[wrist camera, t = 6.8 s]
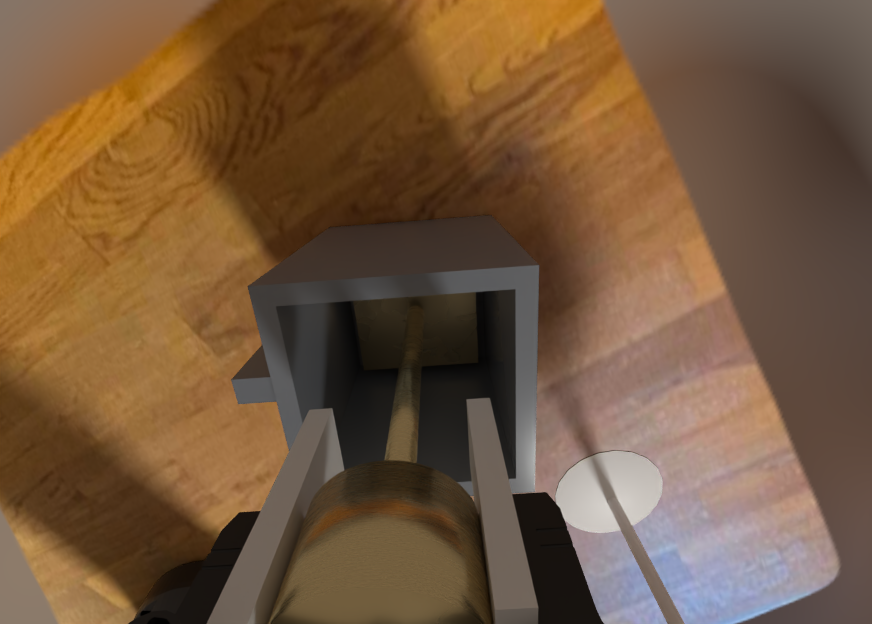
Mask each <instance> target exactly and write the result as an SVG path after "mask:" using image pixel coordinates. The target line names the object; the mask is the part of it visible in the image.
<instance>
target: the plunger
mask: <svg viewBox="0 0 872 624" xmlns="http://www.w3.org/2000/svg"><path fill="white" fill-rule="evenodd" d="M353 303H354V310H355V316H356V322H357V329H358V335H359V342H360V348H361V355H362V361H363V367H364V370H378V369H392V368H399V370H398V376H397V383H396V389H395V395H394V402H393V408H392V415H391V421H390V427H389V434H388V440H387V447H386V453H385V460H383V461H374V462H368V463H364V464H360V465H357V466H354V467H351V468H348V469H346V470H344V471H342V472H340V473H338V474H337V475H335V476H334V477H332V478H331V479H329V480H328V481H327V482H326V483H325V484H324V485H323V486H322V487H321V488H320V489H319V490H318V491H317V493H316V494H315V496H314V497H313V499H312V501H311V503H310V505H309V508H308V511H307V513H306V516H305V519H304V522H303V525H302V528H301V531H300V534H299V536H298V539H297V542H296V545H295V548H294V551H293V554H292V556H291V559H290V562H289V565H288V568H287V571H286V574H285V577H284V579H283V582H282V585H281V588H280V591H279V594H278V597H277V599H276V602H275V605H274V608H273V611H272V614H271V617H270V620H269V622H268V624H493V619H492V611H491V604H490V596H489V588H488V580H487V572H486V565H485V557H484V549H483V541H482V533H481V526H480V518H479V514H478V510H477V507H476V505H475V503H474V501H473V500H472V498H471V497H470V495H469V494H468V493H467V491H466V490H465V489H464V488H463V487H462V486H461V485H460V484H459V483H457V482H456V481H455V480H453V479H452V478H451V477H449V476H447V475H446V474H444V473H442V472H440V471H438V470H436V469H434V468H431V467H428V466H425V465H422V464H418V463H417V447H418V427H419V407H420V387H421V367H422V366H436V365H450V364H465V363H478V341H477V316H476V292H469V293H455V294H441V295H427V296H413V297H399V298H386V299H372V300H358V301H353Z"/></svg>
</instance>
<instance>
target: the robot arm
mask: <svg viewBox="0 0 872 624" xmlns="http://www.w3.org/2000/svg"><path fill="white" fill-rule="evenodd" d="M466 401H467V420H468V438H469V457H470V470H471V478H472V487H473V495H474V503H475V505H476V507H477V510H478V514H479V518H480V526H481V533H482V541H483V549H484V557H485V565H486V572H487V580H488V588H489V596H490V604H491V611H492V619H493V624H604V623H603V622H602V620H601V618H600V616H599V614H598V612H597V610H596V607H595V604H594V602H593V599H592V596H591V593H590V590H589V588H588V585H587V582H586V579H585V576H584V574H583V571H582V568H581V565H580V562H579V560H578V557H577V554H576V551H575V548H574V547H573V543H572V540H571V537H570V534H569V532H568V531H567V526H566V523H565V521H564V518H563V515H562V512H561V509H560V507H559V506H558V505H557V504H556V503H555V502H554V501H553V499H552V498H551V497H550V496H549V495H548V494H547V493H546V492H542V493H526V494H512V492H511V488H510V483H509V479H508V475H507V470H506V466H505V462H504V457H503V453H502V449H501V444H500V440H499V436H498V431H497V427H496V423H495V418H494V414H493V410H492V406H491V401H490V398H478V399H466ZM342 471H344V465H343V460H342V455H341V450H340V445H339V440H338V435H337V430H336V425H335V419H334V414H333V409H332V408H328V409H313V410H309V412H308V414H307V416H306V418H305V420H304V422H303V424H302V426H301V428H300V430H299V432H298V434H297V437H296V439H295V441H294V443H293V445H292V447H291V449H290V451H289V453H288V455H287V457H286V459H285V462H284V464H283V466H282V468H281V470H280V472H279V474H278V476H277V478H276V480H275V482H274V484H273V486H272V489H271V491H270V493H269V495H268V497H267V499H266V501H265V503H264V505H263V507H262V509H261V511H255V512H239V513H238V514H237V515H236V516H235V517H234V518H233V519H232V520H231V521H230V522H229V523H228V525H227V526H226V527H225V528H224V529H223V530H222V531H221V533H220V535H219V536H218V538H217V540H216V542H215V544H214V545H213V547H212V549H211V553H210V554H208V556H207V558H206V560H205V561H198V562H193V563H189V564H185V565H182V566H179V567H177V568H175V569H173V570H171V571H169V572H168V573H166V574H165V575H163V576H162V577H161V578H160V579H159V580H158V581H157V582H156V583H155V585H154V586H153V588H152V589H151V591H150V592H149V594H148V595H147V597H146V598H145V600H144V602H143V603H142V605H141V606H140V608H139V610H138V612H137V614H136V616H135V618H134V620H133V621H131V622H130V623H129V624H268V622H269V620H270V617H271V614H272V611H273V608H274V605H275V602H276V599H277V597H278V594H279V591H280V588H281V585H282V582H283V579H284V577H285V574H286V571H287V568H288V565H289V562H290V559H291V556H292V554H293V551H294V548H295V545H296V542H297V539H298V536H299V534H300V531H301V528H302V525H303V522H304V519H305V516H306V513H307V511H308V508H309V505H310V503H311V501H312V499H313V497H314V496H315V494H316V493H317V491H318V490H319V489H320V488H321V487H322V486H323V485H324V484H325V483H326V482H327V481H328V480H329V479H331V478H332V477H334V476H335V475H337V474H338V473H340V472H342Z"/></svg>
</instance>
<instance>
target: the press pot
mask: <svg viewBox="0 0 872 624" xmlns="http://www.w3.org/2000/svg"><path fill="white" fill-rule="evenodd" d="M248 290H249V294H250V298H251V302H252V306H253V310H254V314H255V318H256V322H257V325H258V329H259V333H260V337H261V341H262V346H261V347H260V348H259V349H258V350H257V351H256V352H255V354H254V355H253V356H252V357H251V358H250V359H249V360H248V361H247V363H246V364H245V365H244V366H243V367H242V368H241V369H240V370H239V372H238V373H237V374H236V375H235V376H234V377H233V378H232V379H231V381H232V384H233V387H234V391H235V394H236V398H237V401H238V404H247V403H262V402H277V405H278V409H279V413H280V417H281V421H282V425H283V429H284V433H285V437H286V441H287V444H288V448H289V451H290V449H291V447H292V445H293V443H294V441H295V439H296V437H297V434H298V432H299V430H300V428H301V426H302V424H303V422H304V420H305V418H306V416H307V414H308V412H309V410H313V409H328V408H332V409H333V414H334V419H335V425H336V430H337V435H338V440H339V445H340V450H341V455H342V460H343V465H344V470H346V469H348V468H351V467H354V466H357V465H360V464H364V463H368V462H374V461H383V460H385V453H386V447H387V440H388V434H389V427H390V421H391V415H392V408H393V402H394V395H395V389H396V383H397V376H398V370H399V368H392V369H378V370H364V367H363V361H362V355H361V348H360V342H359V335H358V329H357V322H356V316H355V310H354V303H353V301H358V300H372V299H386V298H399V297H413V296H427V295H441V294H455V293H469V292H476V316H477V341H478V363H465V364H450V365H436V366H422V367H421V387H420V407H419V427H418V447H417V463H418V464H422V465H425V466H428V467H431V468H434V469H436V470H438V471H440V472H442V473H444V474H446V475H447V476H449V477H451V478H452V479H453V480H455V481H456V482H457V483H459V484H460V485H461V486H462V487H463V488H464V489H465V490H466V491H467V493H468V494H469V495H470V496H474V495H473V487H472V478H471V470H470V457H469V438H468V420H467V401H466V399H478V398H490V401H491V406H492V410H493V414H494V418H495V423H496V427H497V431H498V436H499V440H500V444H501V449H502V453H503V457H504V462H505V466H506V470H507V475H508V479H509V483H510V488H511V492H512V493H526V492H535V455H536V402H537V349H538V297H539V264H538V263H537V262H536V261H535V260H534V259H533V258H532V257H531V256H530V255H529V254H528V253H527V252H526V251H525V250H524V249H523V248H522V247H521V246H520V244H519V243H518V242H517V241H516V240H515V239H514V238H513V237H512V236H511V235H510V234H509V233H508V232H507V231H506V230H505V229H504V228H503V227H502V226H501V225H500V224H499V222H498V221H497V220H496V219H495V218H494V217H493V216H492V215H485V216H472V217H459V218H445V219H432V220H419V221H406V222H392V223H379V224H366V225H353V226H339V227H329V228H328V229H326V230H325V231H324V232H322V233H321V234H319V235H318V236H317V237H315V238H314V239H313V240H311V241H310V242H308V243H307V244H306V245H304V246H303V247H301V248H300V249H299V250H297V251H296V252H295V253H293V254H292V255H290V256H289V257H288V258H286V259H285V260H283V261H282V262H281V263H279V264H278V265H277V266H275V267H274V268H272V269H271V270H270V271H268V272H267V273H265V274H264V275H263V276H261V277H260V278H258V279H257V280H256V281H254V282H253V283H252V284H250V285H249V286H248Z"/></svg>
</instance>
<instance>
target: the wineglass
mask: <svg viewBox="0 0 872 624" xmlns="http://www.w3.org/2000/svg"><path fill="white" fill-rule="evenodd" d="M661 494H662V477H661V475H660V473H659V470H658V468H657V467H656V466H655V465H654V464H653V463H652V462H651V461H649V460H648V459H647V458H645V457H643V456H640V455H638V454H636V453H633V452H625V451H610V452H604V453H598V454H595V455H593V456H590V457H588V458H586V459H583V460H581V461H580V462H579V463H577V464H576V465H575V466H573V467H572V468H571V469H569V470H568V471H567V473H566V474H565V475H564V477H563V478H562V479H561V481H560V482H559V485H558V488H557V492H556V495H555V497H556V504H557V505H558V506H559V507H560V509H561V512H562V515H563V518H564V520H565V521H567V522H568V523H569V524H570V525H572V526H573V527H575V528H578V529H581V530H584V531H586V532H596V533H607V532H614V531H619V530H621V531H622V533H623V535H624V537H625V539H626V541H627V543H628V545H629V547H630V549H631V551H632V553H633V555H634V557H635V559H636V561H637V563H638V565H639V567H640V569H641V571H642V573H643V575H644V577H645V579H646V581H647V583H648V585H649V587H650V589H651V591H652V593H653V595H654V597H655V599H656V601H657V603H658V605H659V607H660V609H661V611H662V613H663V615H664V617H665V619H666V621H667V623H668V624H684V622H683V620H682V618H681V616H680V614H679V613H678V611H677V609H676V607H675V605H674V603H673V601H672V599H671V598H670V596H669V594H668V592H667V590H666V588H665V586H664V585H663V583H662V581H661V579H660V577H659V575H658V573H657V571H656V570H655V568H654V566H653V564H652V562H651V560H650V558H649V557H648V555H647V553H646V551H645V549H644V547H643V545H642V544H641V542H640V540H639V538H638V536H637V534H636V532H635V530H634V529H633V527H632V526H633V525H635V524H636V523H638V522H639V521H641V520H642V519H644V518H645V517H647V516H648V515H649V513H650V512H651V511H652V510H653V509H654V508H655V506H656V505H657V504H658V501H659V499H660V496H661Z"/></svg>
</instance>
